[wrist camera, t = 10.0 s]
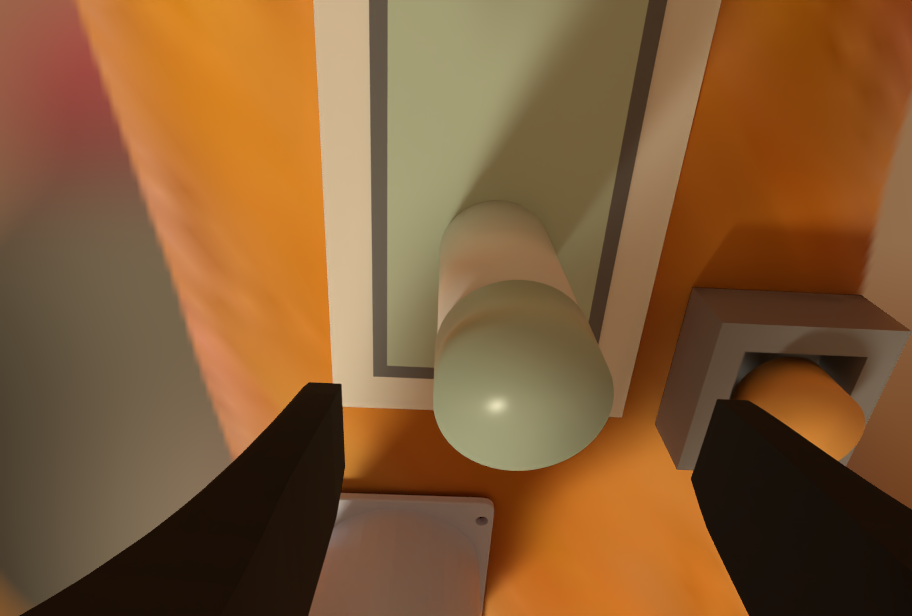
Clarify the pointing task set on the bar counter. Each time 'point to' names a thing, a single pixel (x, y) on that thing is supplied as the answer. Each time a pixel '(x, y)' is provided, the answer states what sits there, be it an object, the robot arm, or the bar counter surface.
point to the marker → (513, 345)
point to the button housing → (770, 353)
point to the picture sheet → (496, 160)
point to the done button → (805, 402)
